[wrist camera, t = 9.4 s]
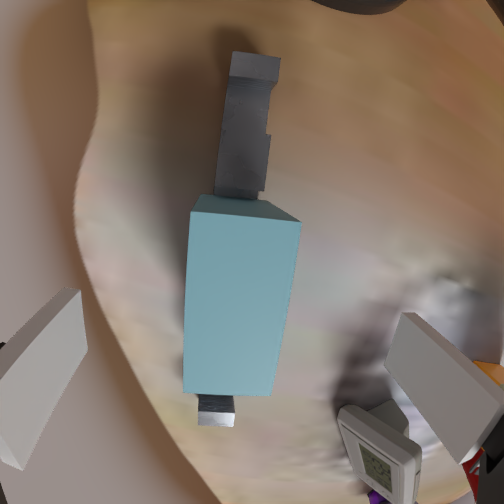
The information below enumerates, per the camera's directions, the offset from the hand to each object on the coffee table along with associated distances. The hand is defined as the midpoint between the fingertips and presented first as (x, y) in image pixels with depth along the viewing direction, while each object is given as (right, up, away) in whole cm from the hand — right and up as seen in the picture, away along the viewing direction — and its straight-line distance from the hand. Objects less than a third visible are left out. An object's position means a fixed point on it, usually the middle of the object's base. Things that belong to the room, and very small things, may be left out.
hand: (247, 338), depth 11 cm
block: (-2, +3, +11) cm, 11 cm away
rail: (-2, +3, +12) cm, 12 cm away
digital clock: (+14, -19, +20) cm, 30 cm away
